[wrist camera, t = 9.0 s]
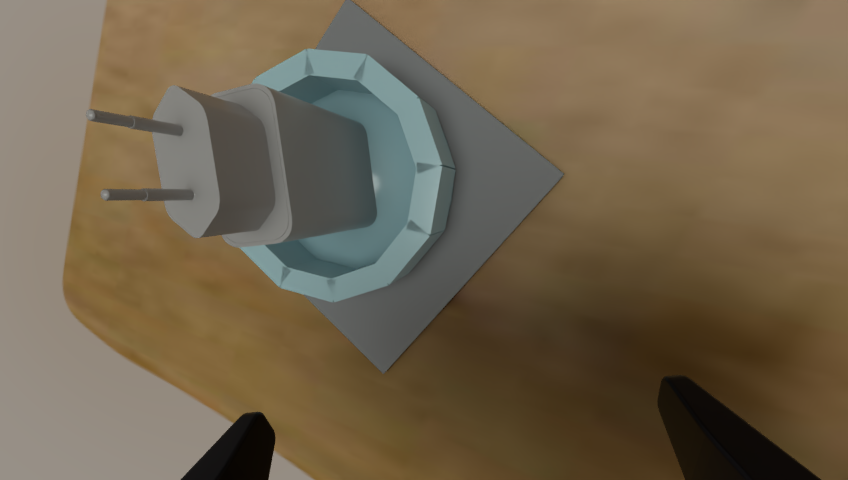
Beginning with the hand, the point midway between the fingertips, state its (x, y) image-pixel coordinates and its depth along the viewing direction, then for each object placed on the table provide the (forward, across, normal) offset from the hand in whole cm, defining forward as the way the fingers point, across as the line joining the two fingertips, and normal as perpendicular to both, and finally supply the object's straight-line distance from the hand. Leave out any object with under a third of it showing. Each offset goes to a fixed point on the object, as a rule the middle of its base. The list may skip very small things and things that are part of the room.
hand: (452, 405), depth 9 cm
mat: (+14, +4, +1) cm, 14 cm away
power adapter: (+14, +5, -1) cm, 15 cm away
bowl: (+14, +5, 0) cm, 15 cm away
